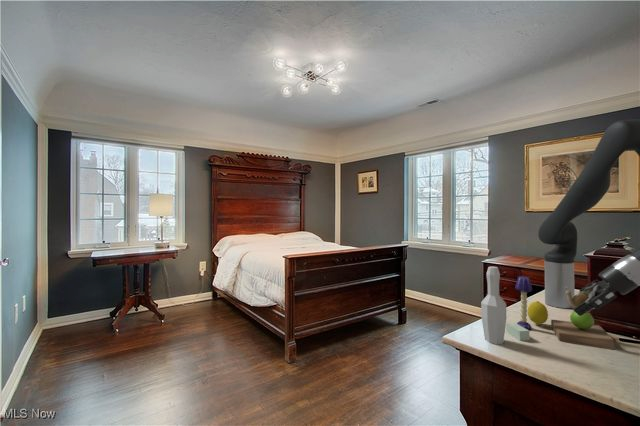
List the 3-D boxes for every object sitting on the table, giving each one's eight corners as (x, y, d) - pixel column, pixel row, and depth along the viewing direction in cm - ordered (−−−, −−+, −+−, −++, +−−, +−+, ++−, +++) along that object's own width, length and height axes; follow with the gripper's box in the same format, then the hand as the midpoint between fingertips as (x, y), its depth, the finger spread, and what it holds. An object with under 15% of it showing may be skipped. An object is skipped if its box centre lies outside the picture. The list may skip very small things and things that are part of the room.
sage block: (506, 332, 96) (506, 323, 96) (515, 332, 96) (515, 323, 96) (519, 341, 90) (519, 331, 90) (529, 340, 90) (529, 330, 90)
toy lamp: (536, 329, 97) (535, 278, 97) (525, 331, 95) (525, 279, 95) (522, 324, 101) (521, 274, 101) (511, 326, 100) (511, 276, 100)
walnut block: (551, 328, 99) (551, 319, 99) (599, 334, 93) (599, 325, 93) (559, 343, 89) (559, 333, 89) (614, 351, 83) (614, 340, 83)
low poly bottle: (490, 334, 94) (488, 264, 94) (511, 342, 89) (510, 267, 88) (477, 339, 91) (476, 266, 91) (498, 347, 86) (497, 270, 85)
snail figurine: (565, 323, 95) (564, 285, 96) (593, 328, 91) (591, 288, 92) (566, 328, 91) (565, 287, 92) (595, 332, 87) (594, 290, 88)
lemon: (539, 329, 97) (539, 304, 97) (523, 323, 102) (523, 299, 102) (552, 327, 99) (552, 302, 98) (536, 321, 104) (535, 297, 104)
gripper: (606, 260, 93) (559, 292, 99) (620, 269, 81) (566, 305, 87) (630, 279, 90) (580, 311, 96) (649, 291, 78) (590, 327, 84)
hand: (573, 308), depth 92 cm, fingers open, 8 cm apart
